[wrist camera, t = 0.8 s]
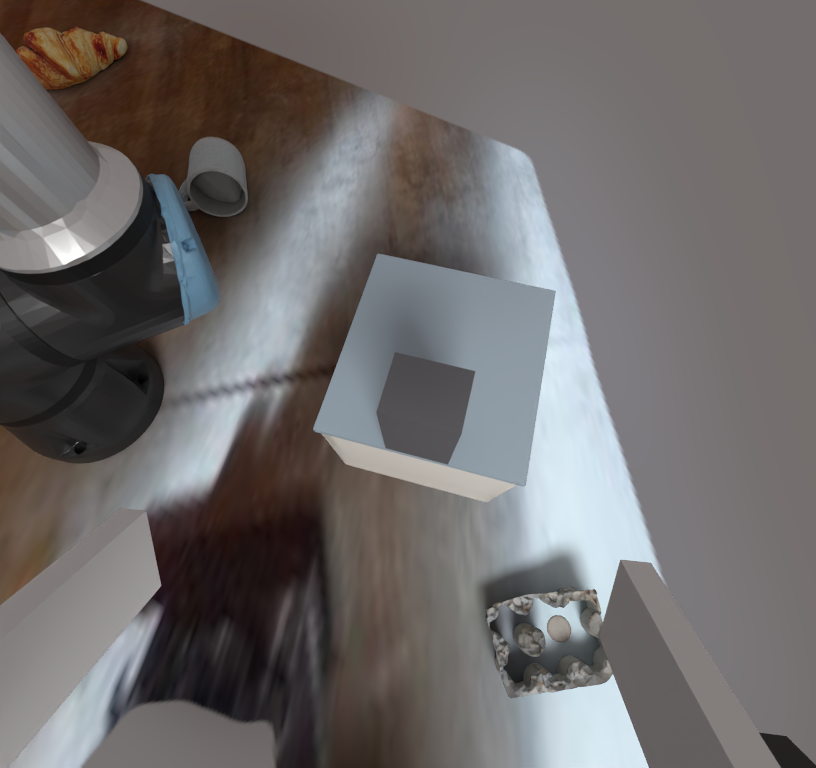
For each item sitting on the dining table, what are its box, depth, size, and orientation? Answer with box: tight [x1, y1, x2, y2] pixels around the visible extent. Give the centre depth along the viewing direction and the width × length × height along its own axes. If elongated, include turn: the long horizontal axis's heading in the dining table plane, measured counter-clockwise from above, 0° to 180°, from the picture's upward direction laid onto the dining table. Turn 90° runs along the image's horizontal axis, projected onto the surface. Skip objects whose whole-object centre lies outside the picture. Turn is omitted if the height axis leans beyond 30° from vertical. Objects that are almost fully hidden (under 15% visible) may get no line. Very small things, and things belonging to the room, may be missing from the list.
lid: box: [313, 254, 556, 486], centre depth 31 cm, size 18×17×10 cm
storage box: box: [322, 434, 515, 502], centre depth 41 cm, size 18×16×13 cm
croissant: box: [15, 26, 127, 90], centre depth 69 cm, size 21×10×8 cm, turn 124°
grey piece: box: [485, 587, 613, 698], centre depth 37 cm, size 11×8×4 cm
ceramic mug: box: [179, 137, 248, 217], centre depth 57 cm, size 11×8×8 cm
